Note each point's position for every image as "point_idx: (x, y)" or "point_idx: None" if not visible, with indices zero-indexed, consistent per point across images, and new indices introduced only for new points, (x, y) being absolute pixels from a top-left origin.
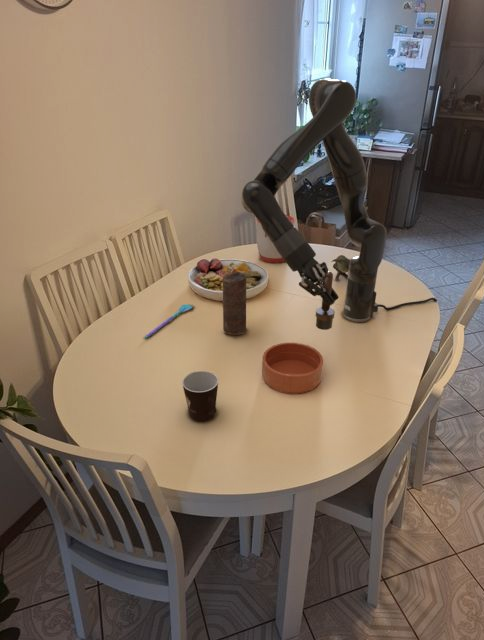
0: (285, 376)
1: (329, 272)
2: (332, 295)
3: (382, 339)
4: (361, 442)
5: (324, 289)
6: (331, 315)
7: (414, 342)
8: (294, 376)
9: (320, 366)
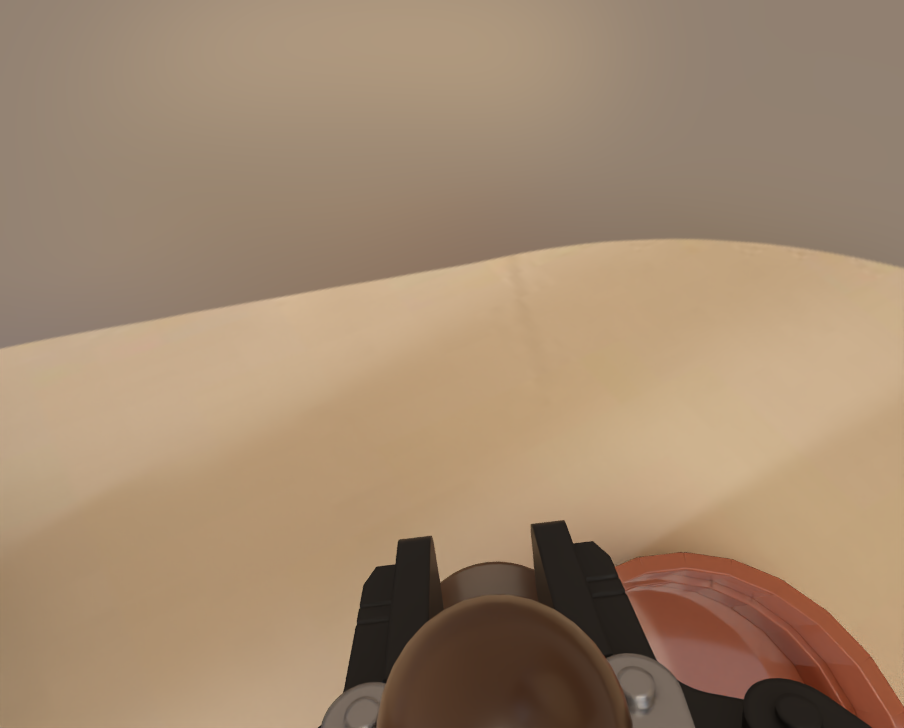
0: (892, 694)
1: (537, 718)
2: (434, 614)
3: (112, 493)
4: (795, 283)
5: (653, 683)
6: (528, 568)
7: (90, 373)
8: (854, 639)
9: (658, 560)
